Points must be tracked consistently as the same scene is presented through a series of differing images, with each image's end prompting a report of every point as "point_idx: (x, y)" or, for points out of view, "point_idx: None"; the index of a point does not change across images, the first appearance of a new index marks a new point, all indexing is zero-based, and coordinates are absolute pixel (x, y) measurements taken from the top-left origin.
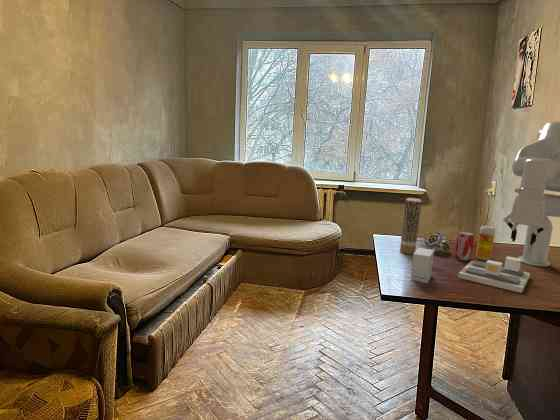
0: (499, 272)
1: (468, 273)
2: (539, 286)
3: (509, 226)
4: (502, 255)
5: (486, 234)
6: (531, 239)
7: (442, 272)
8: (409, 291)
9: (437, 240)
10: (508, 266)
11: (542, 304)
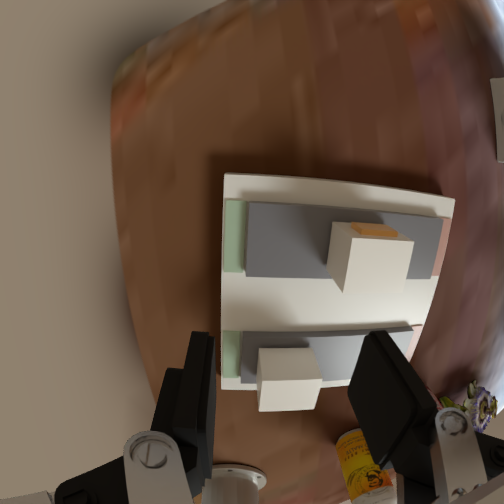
0: (338, 225)
1: (429, 215)
2: (178, 311)
3: (485, 438)
4: (301, 478)
5: (379, 489)
6: (202, 370)
7: (477, 218)
8: (485, 2)
9: (478, 408)
10: (300, 357)
11: (149, 94)
